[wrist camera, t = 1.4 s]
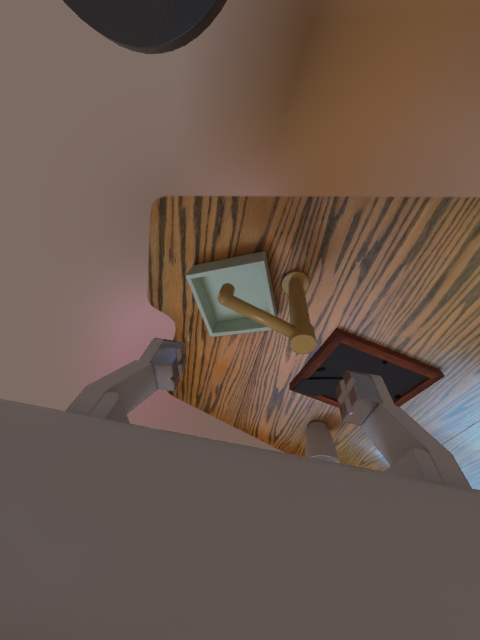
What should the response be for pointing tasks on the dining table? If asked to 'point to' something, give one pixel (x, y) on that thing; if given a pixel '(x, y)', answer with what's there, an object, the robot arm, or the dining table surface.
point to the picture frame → (362, 369)
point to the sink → (249, 286)
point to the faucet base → (296, 295)
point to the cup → (320, 443)
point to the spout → (271, 321)
